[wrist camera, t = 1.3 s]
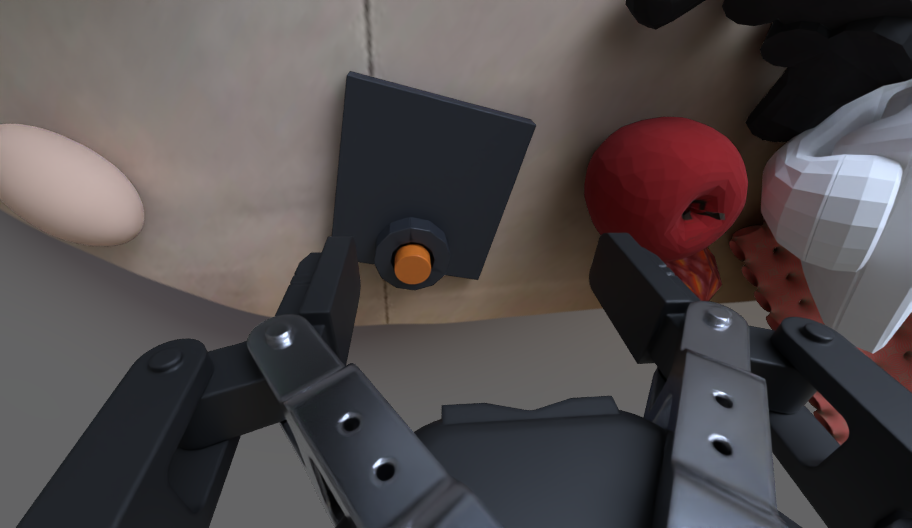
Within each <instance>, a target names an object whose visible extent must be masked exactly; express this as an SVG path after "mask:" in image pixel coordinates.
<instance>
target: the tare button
mask: <svg viewBox="0 0 912 528" xmlns="http://www.w3.org/2000/svg"><path fill="white" fill-rule="evenodd" d="M394 271H395V275H396V276H397V278H398V279H399V280H400V281H402V282H404V283H407V284H419V283H421V282H423V281H425V280H426V279H427V278H428V277H429V275H430V273H431V262H430V255H429V252H428V251H427V250H426V249H425V248H424V247H423V246H421V245H418V244H407V245H404V246H403V247H401V248H400V249H399V250H398V251H397V252H396V255H395V267H394Z"/></svg>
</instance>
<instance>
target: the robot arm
mask: <svg viewBox="0 0 912 528" xmlns="http://www.w3.org/2000/svg"><path fill="white" fill-rule="evenodd" d="M589 283H590V287H591V289H592V291H593V293H594V294H595V296H596V298H597V299H598V301H599V302H600V304H601V306H602V307H603V309H604V310H605V312H606V314H607V315H608V317H609V319H610V320H611V321H612V323H613V325H614V327H615V328H616V330H617V331H618V333H619V335H620V336H621V338H622V339H623V341H624V343H625V344H626V346H627V348H628V349H629V351H630V352H631V354H632V355H633V357H634V359H635V360H636V362H637V364H643V363H655V364H656V365H657V369H656V371H655V373H654V375H653V379H652V383H651V388H650V392H649V396H648V400H647V405H646V409H645V413H644V417H640V416H638V415H635V414H632V413H629V412H625V411H622V410H619V409H618V407H617V405H616V404H615V401H614V399H613V397H612V396H601V397H600V396H599V397H581V398H570V399H567V400H564V401H561V402H558V403H554V404H551V405H548V406H545V407H543V408H539V409H536V410H522V409H517V408H511V407H505V406H499V405H493V404H488V403H474V404H456V405H442V419H440V420H437V421H434V422H432V423H430V424H428V425H425V426H423V427H421V428H420V429H418V430H417V431H415V432H413V431H412V430H411V429H410V427H409V426H408V425H407V424H406V423H405V422H404V420H403V419H402V418H401V417H400V416H399V414H398V413H397V412H396V411H395V410H394V409H393V407H392V406H391V405H390V404H389V403H388V401H387V400H386V399H385V398H384V397H383V396H382V395H381V393H380V392H379V391H378V390H377V389H376V388H375V386H374V385H373V384H372V383H371V381H370V380H369V379H368V378H367V377H366V376H365V374H364V373H363V372H362V371H361V370H360V369H359V368H358V367H357V366H356V365H355V364H353V363H350V364H348V365H347V366H346V362H347V357H348V353H349V347H350V342H351V337H352V332H353V328H354V323H355V318H356V313H357V308H358V303H359V298H360V287H361V284H360V273H359V266H358V259H357V252H356V245H355V240H354V237H353V236H333V237H328V238H327V240H326V243H325V246H324V248H323V251H322V252H321V253H310V254H309V255H308V256H307V257H305V258H304V259H303V260H302V261H301V262H300V263H299V265H298V267H297V269H296V271H295V276H293V278H292V280H291V282H290V285H289V287H288V289H287V291H286V293H285V295H284V297H283V300H282V302H281V304H280V306H279V308H278V310H277V313H276V315H275V317H272V318H270V319H267V320H265V321H263V322H262V323H260V324H259V325H258V326H256V327H255V328H254V329H253V330H252V331H251V333H250V334H249V336H248V339H247V341H245V342H242V343H239V344H236V345H232V346H228V347H224V348H220V349H216V350H213V351H209V352H207V350H206V348H205V346H204V344H203V343H201V342H200V341H198V340H195V339H177V340H173V341H169V342H166V343H163V344H161V345H158V346H157V347H155V348H153V349H151V350H149V351H148V352H146V353H145V354H143V355H142V356H141V357H140V358H139V359H137V360H136V362H135V363H134V364H133V365H132V366H131V368H130V369H129V371H128V372H127V374H126V375H125V376H124V378H123V379H122V380H121V382H120V383H119V384H118V386H117V387H116V389H115V390H114V391H113V393H112V394H111V396H110V397H109V398H108V400H107V401H106V403H105V404H104V405H103V407H102V408H101V410H100V411H99V412H98V414H97V415H96V417H95V418H94V419H93V421H92V422H91V424H90V425H89V426H88V428H87V429H86V431H85V432H84V433H83V435H82V436H81V437H80V439H79V440H78V442H77V443H76V444H75V446H74V447H73V449H72V450H71V451H70V453H69V454H68V456H67V457H66V458H65V460H64V461H63V463H62V464H61V465H60V467H59V468H58V469H57V471H56V472H55V474H54V475H53V476H52V478H51V479H50V481H49V482H48V483H47V485H46V486H45V488H44V489H43V490H42V492H41V493H40V495H39V496H38V497H37V499H36V500H35V502H34V503H33V504H32V506H31V507H30V509H29V510H28V511H27V513H26V514H25V515H24V517H23V518H22V520H21V521H20V523H19V524H18V525H17V527H16V528H209V526H210V523H211V520H212V517H213V514H214V511H215V508H216V505H217V502H218V499H219V497H220V494H221V491H222V488H223V485H224V482H225V479H226V477H227V474H228V471H229V468H230V465H231V462H232V459H233V456H234V453H235V451H236V448H237V445H238V442H239V439H240V436H241V435H243V434H246V433H249V432H252V431H254V430H257V429H260V428H263V427H266V426H269V425H272V424H275V423H278V422H279V424H280V426H281V428H282V430H283V431H284V433H285V435H286V437H287V438H288V440H289V442H290V444H291V446H292V448H293V449H294V451H295V453H296V455H297V457H298V458H299V460H300V462H301V464H302V465H303V467H304V469H305V471H306V473H307V475H308V477H309V479H310V480H311V483H312V485H313V486H314V489H315V491H316V493H317V495H318V497H319V499H320V501H321V503H322V505H323V507H324V509H325V511H326V513H327V514H328V516H329V518H330V520H331V522H332V524H333V526H334V527H335V528H802V527H800V526H799V525H798V524H796V523H795V522H794V521H792V520H791V519H789V518H788V517H787V516H785V515H784V514H782V513H781V512H780V511H778V510H777V504H776V492H775V480H774V468H773V457H772V452H773V454H774V455H775V456H776V458H777V459H778V460H779V462H780V463H781V464H782V466H783V467H784V469H785V470H786V471H787V472H788V474H789V475H790V477H791V478H792V479H793V481H794V482H795V483H796V484H797V486H798V487H799V489H800V490H801V492H802V493H803V494H804V496H805V497H806V498H807V500H808V501H809V502H810V504H811V505H812V506H813V507H814V509H815V510H816V512H817V513H818V514H819V516H820V517H821V519H822V520H823V521H824V523H825V524H826V525H827V527H828V528H912V392H910V391H909V390H908V389H907V388H905V387H904V386H903V385H902V384H901V383H899V382H898V381H897V380H896V379H894V378H893V377H892V376H891V375H890V374H888V373H887V372H886V371H885V370H884V369H882V368H881V367H880V366H879V365H877V364H876V363H875V362H874V361H873V360H871V359H870V358H869V357H868V356H866V355H865V354H864V353H863V352H862V351H860V350H859V349H858V348H857V347H856V346H854V345H853V344H852V343H851V342H849V341H848V340H847V339H846V338H845V337H843V336H842V335H841V334H839V333H838V332H837V331H835V330H833V329H832V328H830V327H828V326H826V325H824V324H822V323H819V322H817V321H814V320H811V319H807V318H802V317H787V318H785V319H784V320H783V321H782V322H781V323H780V325H779V326H778V328H777V329H776V330H770V329H764V328H758V327H753V326H748V324H747V322H746V321H745V319H744V318H743V317H742V316H741V315H739V314H738V313H737V312H735V311H734V310H732V309H730V308H728V307H726V306H724V305H721V304H719V303H715V302H711V301H701V300H700V299H699V298H698V297H697V296H696V295H695V294H694V293H693V292H692V291H691V290H690V289H689V288H688V287H687V286H686V285H685V284H684V283H683V282H682V281H681V279H680V278H679V277H678V276H675V273H674V272H673V271H672V270H671V269H670V268H669V267H667V265H666V264H665V263H664V262H663V261H662V260H661V259H660V258H659V257H658V256H657V255H656V254H654V253H652V252H650V251H649V250H647V249H645V248H644V247H641V246H640V245H639V244H638V243H637V242H636V240H635V239H634V238H633V237H632V236H631V235H630V234H629V233H603V234H602V235H601V236H600V238H599V241H598V245H597V248H596V252H595V255H594V258H593V262H592V265H591V269H590V273H589ZM817 391H818V392H819V393H820V394H821V395H822V396H823V397H824V398H825V399H826V400H827V401H828V402H829V403H830V404H831V405H832V406H833V407H834V408H835V409H836V410H837V412H838V413H839V414H840V415H841V416H842V417H843V418H844V419H845V421H846V423H847V425H848V429H849V436H848V438H847V440H846V441H845V442H844V443H843V444H842V445H840V444H839V443H838V442H837V441H836V440H835V439H834V437H833V436H832V435H831V434H830V433H829V432H828V431H827V430H826V429H825V428H824V426H823V425H822V424H821V423H820V422H819V421H818V420H817V419H816V418H815V417H814V415H813V414H812V413H811V412H810V411H809V410H808V409H807V408H806V407H805V406H804V405H805V404H806V403H807V402H808V401H809V399H810V398H811V397H812V396H813V395H814V394H815V393H816V392H817Z"/></svg>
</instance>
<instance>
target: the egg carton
mask: <svg viewBox="0 0 912 528" xmlns="http://www.w3.org/2000/svg"><path fill="white" fill-rule="evenodd" d="M732 237H733V238H732V240H731V241H730V242H729V246H730V249H731V251H732V252H733V254H734V255H735V256H736V257H737V258H738V259H739V260H741V261H745V265H744V266H742V273H743V275H744V276H745V278H746V279H747V280H748V282H749V283H750V284H752V285H753V286H755V287H758V288H757V290H756V291H754V296H755V299H756V300H757V302H758V303H759V304H760V306H761V307H762V308H763V309H764V310H766V311H767V312H770V314H769V315H768V316H767V317H766V320H767V322H768V324H769V326H770V327H771V329H772V330H776V329H777V328H778V326H779V325H780V323H781V322H782V321H783V320H784V319H785V318H787V317H802V318H807V319H811V320H814V321H817V322H819V323H822V324H824V322H823V320H822V318H821V315H820V313H819V311H818V308H817V306H816V304H815V301H814V299H813V297H812V294H811V292H810V290H809V287H808V284H807V281H806V278H805V275H804V272H803V268H802V264H801V260H800V259H799V258H798V257H796V256H795V255H794V254H792V253H791V252H790V251H788V250H787V249H786V248H784V247H783V246H782V245H780V244H779V243H777V241H776V239H775V238H774V236H773V234H772V232H771V230H770V228H769V226H768V225H767V223H766V221H765V219H764V220H763V225H762V226H759V225H754V226H749V227H746V228H743V229H741V230H739V231H737V232H735V233H734V234H733V235H732ZM775 247H776V250H775V252H774V253H773V250H774V248H775ZM787 274H788V277H787V278H786V276H787ZM799 301H800V302H799ZM824 325H825V324H824ZM857 348H858V347H857ZM858 349H859V350H860V351H862V352H863V353H864V354H865V355H866V356H868V357H869V358H870V359H871V360H873V361H874V362H875V363H876V364H877V365H879V366H880V367H881V368H882V369H884V370H885V371H886V372H887V373H888V374H890V375H891V376H892V377H893V378H894V379H896V380H897V381H898V382H899V383H901V384H902V385H903V386H904V387H905V388H907V389H908V390H909V391H910V392H912V312H911V313H910V315H909V316H908V317H907V318H906V320H905V321H904V322H903V324H902V325H901V326H900V327H899V329H898V330H897V331H896V332H895V334H894V335H893V336H892V337H891V339H890V340H889V341H888V343H887V344H886V345H885V346H884V347H883V348H881V349H880V350H878V351H877V352H875V353H870V352H868V351H865V350H863V349H860V348H858ZM809 403H810V404H811V405H812V406H814V407H815V408H816V409H817V410H816V411H814V416H815V418H816V419H817V420H818V421H819V422H820V423H821V424H822V425H823V426H824V428H825V429H826V430H827V431H828V432H829V433H830V434H831V435H832V436H833V437H834V439H835V440H836V441H837V442H838V443H839V444H840V445H842V444H843V443H844V442H845V441H846V440H847V438H848V436H849V429H848V425H847V423H846V421H845V419H844V418H843V417H842V416H841V415H840V414H839V413H838V412H837V410H836V409H835V408H834V407H833V406H832V405H831V404H830V403H829V402H828V401H827V400H826V399H825V398H824V397H823V396H822V395H821V394H820V393H819V392H818V391H817V392H816V393H815V394H814V395H813V396H812V397H811V398H810V399H809Z"/></svg>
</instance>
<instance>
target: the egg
mask: <svg viewBox="0 0 912 528" xmlns="http://www.w3.org/2000/svg"><path fill="white" fill-rule="evenodd" d="M0 200H1V201H3V202H4V203H5V204H6V205H7V206H8V207H9V208H10V209H11V210H12V211H14V212H15V213H16V214H17V215H19V216H20V217H22V218H23V219H24V220H26V221H27V222H29V223H30V224H32V225H33V226H35V227H37V228H39V229H40V230H42V231H44V232H46V233H48V234H50V235H52V236H55V237H57V238H59V239H62V240H66V241H70V242H73V243H77V244H82V245H89V246H104V247H108V246H116V245H121V244H124V243H126V242H129V241H130V240H132V239H134V238H135V237H136V236H137V235H138V234H139V233H140V231H141V230H142V227H143V224H144V208H143V204H142V202H141V199H140V196H139V194H138V192H137V191H136V189H135V188H134V186H133V185H132V183H131V182H130V181H129V179H128V178H127V177H126V176H125V175H124V174H123V173H122V172H121V171H120V170H119V169H118V168H117V167H116V166H114V165H113V164H112V163H110V162H109V161H108V160H106V159H105V158H104V157H102V156H101V155H99V154H98V153H96V152H95V151H93V150H91V149H90V148H88V147H87V146H84V145H82V144H80V143H78V142H76V141H73V140H71V139H69V138H67V137H65V136H62V135H60V134H57V133H55V132H52V131H49V130H46V129H42V128H38V127H34V126H29V125H24V124H0Z"/></svg>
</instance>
